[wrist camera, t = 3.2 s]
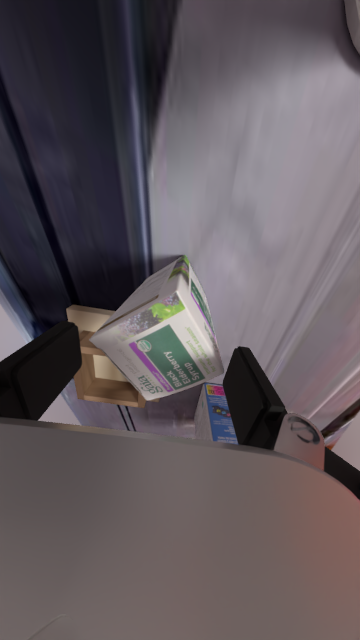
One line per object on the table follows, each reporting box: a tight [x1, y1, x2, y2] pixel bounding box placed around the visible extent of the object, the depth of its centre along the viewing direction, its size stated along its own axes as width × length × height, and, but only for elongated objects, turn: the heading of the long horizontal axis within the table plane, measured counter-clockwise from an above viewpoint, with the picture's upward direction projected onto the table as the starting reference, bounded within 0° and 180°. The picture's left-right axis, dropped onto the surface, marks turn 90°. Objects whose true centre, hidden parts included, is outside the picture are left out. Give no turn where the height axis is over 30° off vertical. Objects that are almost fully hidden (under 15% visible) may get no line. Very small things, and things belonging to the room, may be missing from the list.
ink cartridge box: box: [194, 383, 239, 445], centre depth 25 cm, size 10×6×14 cm, turn 173°
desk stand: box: [66, 305, 160, 408], centre depth 25 cm, size 14×16×5 cm
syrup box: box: [89, 255, 224, 400], centre depth 15 cm, size 6×6×14 cm
